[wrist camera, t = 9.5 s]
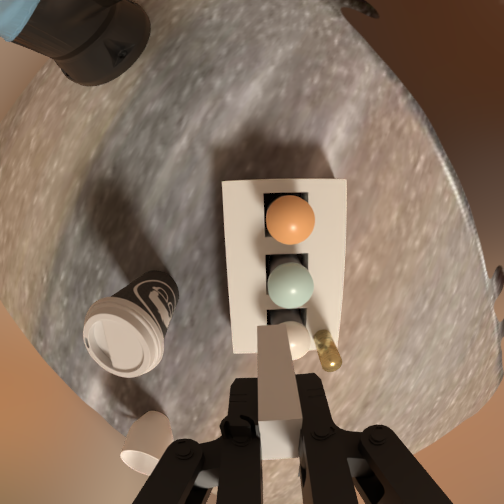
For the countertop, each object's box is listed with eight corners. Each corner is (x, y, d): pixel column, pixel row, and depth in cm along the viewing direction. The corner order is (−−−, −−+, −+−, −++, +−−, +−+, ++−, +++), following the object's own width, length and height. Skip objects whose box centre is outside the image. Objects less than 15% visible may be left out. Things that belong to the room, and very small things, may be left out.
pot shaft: (313, 330, 36) (322, 356, 30) (331, 328, 36) (343, 354, 30) (312, 345, 36) (321, 372, 30) (330, 343, 36) (340, 370, 30)
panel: (226, 180, 36) (221, 181, 31) (335, 178, 36) (346, 179, 31) (235, 334, 42) (233, 353, 37) (329, 330, 41) (337, 348, 36)
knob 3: (266, 294, 40) (268, 327, 31) (300, 292, 40) (311, 325, 31) (266, 324, 41) (269, 361, 32) (299, 322, 41) (309, 359, 32)
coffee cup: (137, 249, 38) (81, 289, 24) (198, 276, 39) (168, 332, 25) (122, 305, 41) (74, 358, 26) (178, 330, 42) (148, 395, 27)
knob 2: (265, 245, 38) (267, 266, 29) (301, 243, 38) (314, 264, 29) (265, 279, 39) (268, 309, 30) (300, 278, 39) (312, 307, 30)
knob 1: (263, 191, 36) (265, 196, 27) (300, 190, 36) (314, 195, 27) (264, 228, 37) (267, 245, 29) (301, 227, 37) (314, 243, 28)
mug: (154, 398, 46) (137, 446, 34) (188, 424, 48) (178, 472, 36) (121, 416, 48) (103, 457, 36) (152, 439, 50) (140, 481, 38)
